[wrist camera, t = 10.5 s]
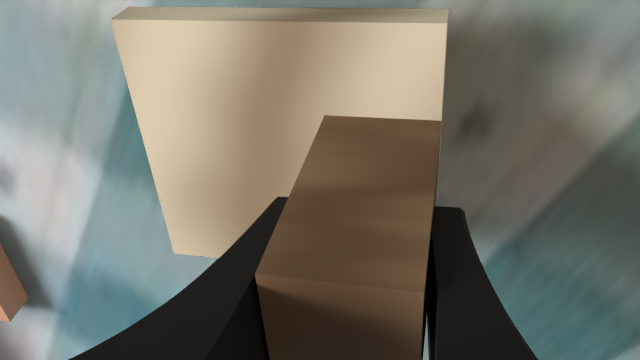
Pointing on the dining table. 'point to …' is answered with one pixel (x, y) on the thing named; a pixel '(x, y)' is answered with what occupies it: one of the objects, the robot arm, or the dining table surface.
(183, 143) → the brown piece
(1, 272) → the tile
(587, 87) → the dining table surface
